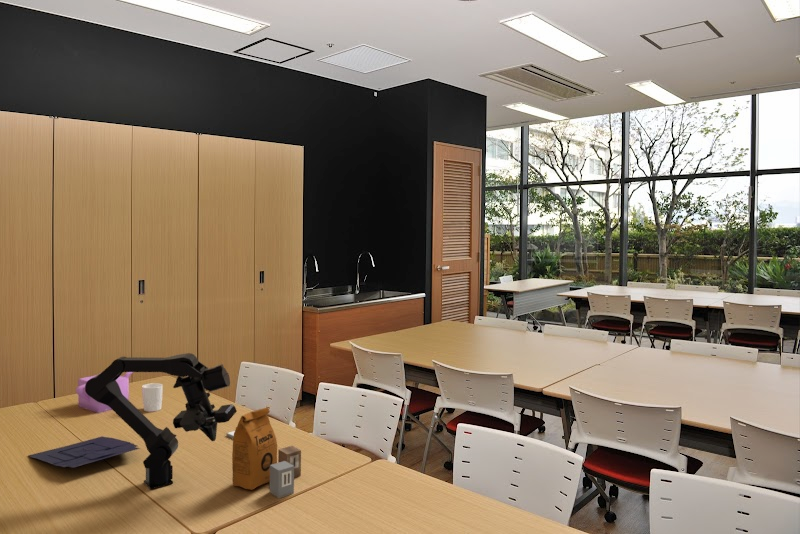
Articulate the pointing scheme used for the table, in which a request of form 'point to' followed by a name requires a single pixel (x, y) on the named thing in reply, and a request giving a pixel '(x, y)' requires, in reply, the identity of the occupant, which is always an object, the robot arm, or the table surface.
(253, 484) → the coffee package
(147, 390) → the white cup
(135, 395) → the table surface
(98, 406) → the teapot
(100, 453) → the dark blue flat slab
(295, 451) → the walnut numbered block
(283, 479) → the grey numbered block
